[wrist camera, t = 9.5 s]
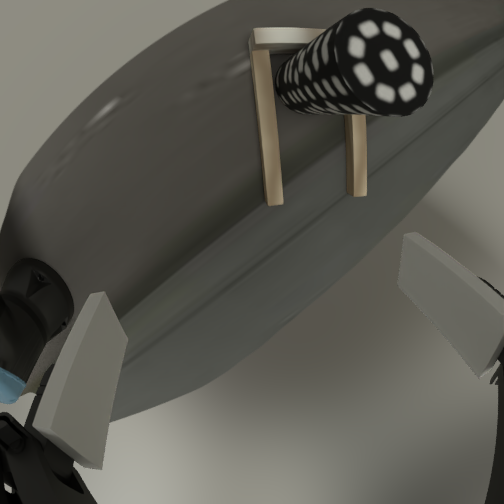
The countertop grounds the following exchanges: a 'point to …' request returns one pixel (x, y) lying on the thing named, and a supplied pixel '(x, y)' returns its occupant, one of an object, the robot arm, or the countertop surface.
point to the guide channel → (260, 48)
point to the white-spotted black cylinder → (359, 69)
